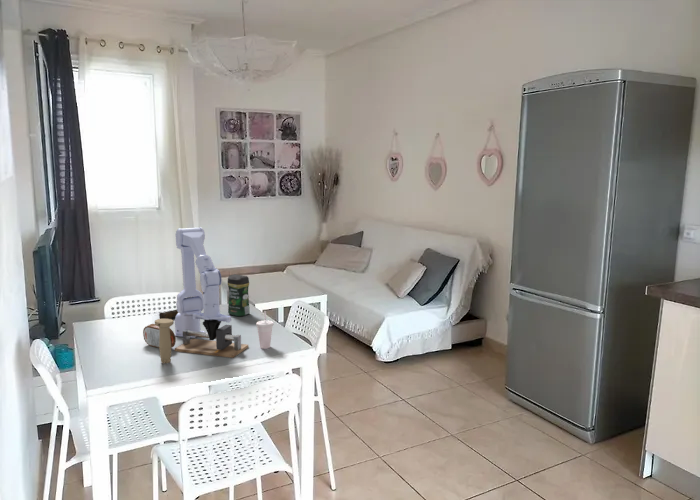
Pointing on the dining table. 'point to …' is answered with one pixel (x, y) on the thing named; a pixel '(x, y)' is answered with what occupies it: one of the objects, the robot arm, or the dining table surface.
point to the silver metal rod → (205, 335)
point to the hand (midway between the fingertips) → (212, 339)
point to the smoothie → (264, 332)
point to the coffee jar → (238, 295)
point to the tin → (155, 336)
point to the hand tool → (168, 314)
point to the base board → (209, 348)
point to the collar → (223, 337)
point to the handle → (164, 339)
